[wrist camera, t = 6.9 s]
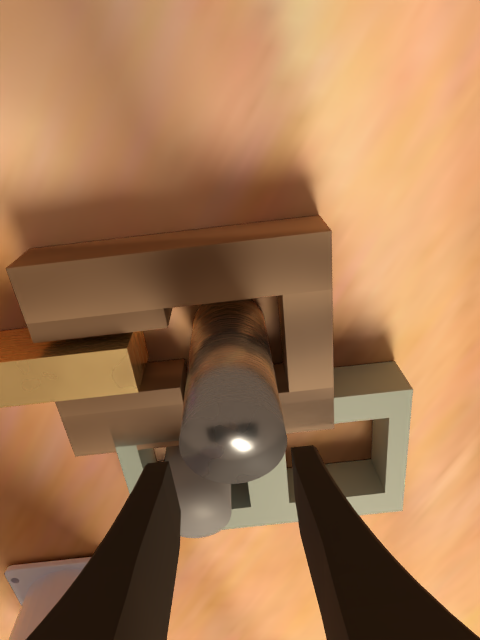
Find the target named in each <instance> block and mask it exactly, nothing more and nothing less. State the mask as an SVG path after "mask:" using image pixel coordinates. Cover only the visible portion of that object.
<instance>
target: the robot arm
mask: <svg viewBox="0 0 480 640" xmlns="http://www.w3.org/2000/svg"><path fill="white" fill-rule="evenodd" d="M291 453H292V467H293V481H294V494H295V503H296V509H297V516H298V522H299V528H300V534H301V539H302V542H303V546H304V550H305V554H306V558H307V562H308V566H309V570H310V573H311V577H312V581H313V585H314V589H315V593H316V596H317V600H318V604H319V608H320V612H321V616H322V620H323V624H324V629H325V633H326V638H327V640H480V638H479V637H478V636H477V635H476V634H474V633H473V632H472V631H471V630H470V629H469V628H467V627H466V626H465V625H464V624H463V623H462V622H460V621H459V620H458V619H457V618H456V617H455V616H453V615H452V614H451V613H450V612H449V611H448V610H447V609H446V608H445V607H444V606H443V605H442V604H441V603H439V602H438V601H437V600H436V599H435V598H434V597H433V596H432V595H431V594H430V593H429V592H428V591H427V590H426V589H424V588H423V587H422V586H421V585H420V584H419V583H418V582H417V581H416V580H415V579H414V578H413V577H412V576H411V575H410V574H409V573H408V572H407V571H406V570H405V569H404V568H403V566H402V565H401V564H400V563H399V562H398V561H397V560H396V559H395V558H394V557H393V556H392V555H391V553H390V552H389V551H388V550H387V549H386V548H385V547H384V546H383V544H382V543H381V542H380V541H379V540H378V539H377V537H376V536H375V535H374V534H373V533H372V531H371V530H370V529H369V528H368V526H367V525H366V524H365V523H364V521H363V520H362V519H361V517H360V516H359V515H358V513H357V512H356V511H355V510H354V508H353V507H352V505H351V504H350V503H349V501H348V500H347V498H346V497H345V495H344V494H343V493H342V491H341V490H340V488H339V487H338V485H337V484H336V482H335V481H334V479H333V477H332V476H331V474H330V473H329V471H328V469H327V467H326V466H325V464H324V462H323V460H322V458H321V456H320V455H319V453H318V450H317V448H315V447H314V446H303V447H294V448H291ZM180 527H181V509H180V505H179V501H178V497H177V492H176V488H175V484H174V480H173V476H172V472H171V468H170V464H169V461H164V462H155V463H147V465H146V466H145V467H144V469H143V471H142V473H141V475H140V477H139V479H138V481H137V483H136V484H135V486H134V488H133V490H132V492H131V494H130V496H129V497H128V499H127V501H126V503H125V504H124V506H123V508H122V510H121V511H120V513H119V515H118V516H117V518H116V520H115V521H114V523H113V525H112V526H111V528H110V530H109V531H108V533H107V534H106V536H105V537H104V539H103V540H102V542H101V543H100V545H99V546H98V548H97V549H96V551H95V552H94V554H93V555H92V557H85V558H76V559H66V560H56V561H47V562H37V563H28V564H18V565H11V566H9V567H7V569H6V571H5V577H6V579H7V580H8V582H9V584H10V586H11V588H12V589H13V591H14V593H15V595H16V597H17V598H18V600H19V602H20V604H21V606H22V607H21V609H20V612H19V614H18V617H17V619H16V622H15V625H14V627H13V630H12V632H11V635H10V637H9V640H167V632H168V626H169V619H170V612H171V605H172V598H173V591H174V584H175V578H176V570H177V563H178V556H179V549H180Z"/></svg>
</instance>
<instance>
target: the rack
mask: <svg viewBox="0 0 480 640" xmlns="http://www.w3.org/2000/svg"><path fill="white" fill-rule="evenodd" d="M333 375H334V413H333V414H334V417H333V418H334V424H336V423H345V422H354V421H364V420H373V425H372V452H371V459H368V460H359V461H350V462H340V463H331V464H325V466H326V467H327V469H328V471H329V473H330V474H331V476H332V477H333V479H334V481H335V482H336V484H337V485H338V487H339V488H340V490H341V491H342V493H343V494H344V495H345V497H346V498H347V500H348V501H349V503H350V504H351V505H352V507H353V508H354V510H355V511H356V512H357V513H358V515H368V514H377V513H387V512H396V511H403V499H404V488H405V476H406V464H407V453H408V441H409V430H410V418H411V407H412V395H413V389H412V387H411V386H410V384H409V382H408V381H407V379H406V378H405V376H404V375H403V373H402V372H401V370H400V368H399V367H398V365H397V364H396V362H395V361H390V362H381V363H372V364H363V365H354V366H345V367H336V368H333ZM321 402H322V401H321ZM295 404H296V403H295ZM282 405H283V404H282ZM303 405H304V404H303ZM315 408H316V407H315ZM307 409H308V408H307ZM317 411H318V410H317ZM311 413H312V412H311ZM315 413H316V412H315ZM301 414H302V413H301ZM306 414H307V413H306ZM320 414H321V413H320ZM291 415H292V414H291ZM313 415H314V414H313ZM328 415H329V414H328ZM318 417H319V416H318ZM321 417H322V416H321ZM328 417H329V416H328ZM325 418H326V417H325ZM331 418H332V417H331ZM306 420H307V419H306ZM328 420H329V419H328ZM285 422H286V421H285ZM299 422H300V421H299ZM312 422H313V421H312ZM141 424H142V423H141ZM173 424H174V423H173ZM330 424H331V423H330ZM180 425H181V424H180ZM325 425H326V424H325ZM130 426H131V425H130ZM176 426H177V425H176ZM290 426H291V424H290ZM306 426H307V425H306ZM128 427H129V426H128ZM128 427H127V428H128ZM301 427H302V426H301ZM304 427H305V426H304ZM130 429H131V428H130ZM155 429H156V428H155ZM131 430H132V429H131ZM134 430H135V429H134ZM162 430H163V428H162ZM176 430H177V429H176ZM178 430H179V429H178ZM112 431H113V430H112ZM115 431H116V430H115ZM127 431H128V429H127ZM153 431H154V430H153ZM148 432H149V431H148ZM175 432H176V431H175ZM112 433H113V432H112ZM115 433H116V432H115ZM135 433H137V432H135ZM179 433H180V432H179ZM117 434H118V433H117ZM138 434H139V433H138ZM138 434H137V435H136V436H138ZM154 434H155V432H154V433H153V435H154ZM167 434H169V433H167ZM114 435H115V434H114ZM133 435H134V433H133ZM150 435H152V433H151V434H150ZM158 435H159V434H158ZM160 435H161V434H160ZM172 435H173V434H172ZM172 435H171V436H172ZM174 435H175V434H174ZM122 436H124V434H122ZM143 436H144V435H143ZM143 436H142V438H144V437H145V436H146V435H145V436H144V437H143ZM154 436H156V435H154ZM162 436H163V435H162ZM164 436H165V435H164ZM176 436H177V435H176ZM176 436H175V438H176ZM118 437H119V436H118ZM127 437H128V435H127ZM134 437H135V436H134ZM138 437H139V436H138ZM140 437H141V436H140ZM151 437H152V436H151ZM151 437H150V438H151ZM159 437H160V436H159ZM168 437H169V436H168ZM168 437H166V438H167V439H168ZM119 438H121V437H119ZM124 438H126V434H125V437H124ZM124 438H121V439H124ZM128 438H130V439H131V437H128ZM135 438H136V437H135ZM142 438H141V439H142ZM147 438H148V439H149V437H147ZM152 438H153V437H152ZM156 438H158V437H156ZM156 438H155V440H156ZM173 438H174V437H173ZM175 438H174V441H175V440H176V441H179V436H178V439H177V438H176V439H175ZM114 439H116V437H115V438H114ZM133 439H134V438H133ZM138 439H139V438H138ZM148 439H147V440H148ZM153 439H154V438H153ZM153 439H152V442H151V440H150V441H148V442H151V443H153V442H155V441H154V440H153ZM158 439H160V438H158ZM161 439H162V440H163V441H161V442H166V441H167V440H164V439H165V438H164V437H163V438H161ZM161 439H160V440H161ZM117 440H118V439H117ZM127 440H128V439H127ZM127 440H126V441H127ZM131 440H132V439H131ZM139 440H140V439H139ZM144 440H146V438H145V439H144ZM160 440H158V442H159V443H160ZM171 440H172V439H170V440H168V441H171ZM114 441H116V440H114ZM120 441H121V440H120ZM126 441H125V442H126ZM135 441H136V440H134V441H132V442H130V440H129V441H128V442H129V443H127V442H126V443H127V444H130V443H132V444H131V445H132V446H131V445H129V446H127V444H125V442H123V443H124V444H125V446H123V445H124V444H123V443H122V444H121V445H120V443H121V442H120V443H119V444H118V441H117V442H116V446H115V448H116V451H117V454H118V458H119V461H120V464H121V467H122V471H123V474H124V477H125V480H126V483H127V487H128V490H129V493H130V494H131V492H132V490H133V488H134V486H135V484H136V483H137V481H138V479H139V477H140V475H141V473H142V471H143V469H144V467H145V466H146V465H147V463H155V462H157V461H156V457H155V453H154V449H153V448H150V449H141V450H137V446H136V443H137V445H138V444H139V443H141V441H140V442H139V441H137V442H136V443H134V444H135V445H133V442H135ZM156 441H157V440H156ZM172 441H173V440H172ZM142 442H143V441H142ZM148 442H147V441H145V443H142V444H146V443H148ZM151 443H149V444H151ZM155 443H157V442H155ZM114 444H115V442H114ZM117 445H118V446H117ZM140 445H141V444H140ZM120 446H121V447H120ZM164 461H169V464H170V468H171V472H172V476H173V480H174V484H175V488H176V492H177V497H178V501H179V505H180V509H181V527H180V536H182V537H187V538H201V537H206V536H210V535H213V534H215V533H217V532H219V531H220V530H225V529H234V528H244V527H253V526H263V525H272V524H282V523H291V522H298V516H297V509H296V503H295V494H294V481H293V468H286V456H285V454H284V456H283V458H282V460H281V461H280V463H279V464H278V465H277V466H276V467H275V468H274V469H273V470H272V471H270V472H269V473H268V474H266V475H264V476H263V477H260V478H258V479H256V480H253V481H249V482H245V483H239V484H224V483H218V482H214V481H210V480H207V479H205V478H203V477H201V476H199V475H198V474H196V473H195V472H193V471H192V470H191V469H190V468H189V467H188V466H187V465H186V463H185V462H184V460H183V458H182V456H181V453H180V450H179V445H178V446H169V447H166V454H165V460H164Z"/></svg>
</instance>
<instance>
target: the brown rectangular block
mask: <svg viewBox="0 0 480 640" xmlns="http://www.w3.org/2000/svg"><path fill="white" fill-rule="evenodd" d="M148 356H149V355H148V351H147V346H146V342H145V338H144V334H143V331H137V332H129V333H120V334H111V335H102V336H93V337H84V338H75V339H66V340H57V341H49V342H40V343H33V341H32V338H31V335H30V333H29V330H28V328H22V329H13V330H4V331H0V408H2V407H11V406H20V405H29V404H38V403H47V402H56V401H65V400H75V399H84V398H93V397H102V396H111V395H120V394H129V393H138V392H139V389H140V385H141V381H142V378H143V374H144V371H145V367H146V363H147V360H148Z"/></svg>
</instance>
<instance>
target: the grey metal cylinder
mask: <svg viewBox="0 0 480 640" xmlns="http://www.w3.org/2000/svg"><path fill="white" fill-rule="evenodd" d="M286 447H287V435H286V430H285V425H284V419H283V414H282V409H281V404H280V398H279V393H278V388H277V383H276V378H275V372H274V367H273V362H272V357H271V351H270V346H269V341H268V336H267V330H266V325H265V320H264V316H263V313H262V311H261V309H260V308H259V307H258V305H257V304H256V303H255V302H253V301H252V300H251V299H243V300H234V301H226V302H217V303H208V304H202V305H201V306H200V307H199V309H198V310H197V312H196V314H195V317H194V321H193V328H192V337H191V345H190V353H189V362H188V370H187V378H186V386H185V395H184V403H183V411H182V419H181V428H180V436H179V450H180V453H181V456H182V458H183V460H184V462H185V463H186V465H187V466H188V467H189V468H190V469H191V470H192V471H193V472H195V473H196V474H198V475H199V476H201V477H203V478H205V479H207V480H210V481H214V482H218V483H224V484H239V483H245V482H249V481H253V480H256V479H258V478H260V477H263V476H264V475H266V474H268V473H269V472H270V471H272V470H273V469H274V468H275V467H276V466H277V465H278V464H279V463H280V461H281V460H282V458H283V456H284V454H285V451H286Z"/></svg>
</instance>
